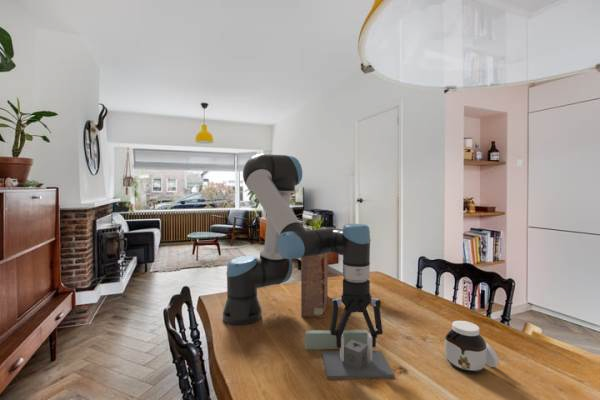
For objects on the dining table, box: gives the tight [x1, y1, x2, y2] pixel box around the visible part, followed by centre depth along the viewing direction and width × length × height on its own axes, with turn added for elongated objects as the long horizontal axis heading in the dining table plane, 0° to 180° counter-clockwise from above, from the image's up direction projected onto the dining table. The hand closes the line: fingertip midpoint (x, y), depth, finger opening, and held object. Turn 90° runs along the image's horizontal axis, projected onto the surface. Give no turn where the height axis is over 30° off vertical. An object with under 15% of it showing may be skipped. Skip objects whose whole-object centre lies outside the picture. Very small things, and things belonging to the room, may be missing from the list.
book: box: [300, 253, 329, 319], centre depth 130 cm, size 25×9×30 cm, turn 172°
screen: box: [304, 329, 370, 350], centre depth 95 cm, size 20×2×5 cm, turn 91°
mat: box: [322, 350, 395, 380], centre depth 85 cm, size 18×12×1 cm, turn 91°
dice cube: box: [343, 340, 368, 370], centre depth 85 cm, size 5×5×5 cm
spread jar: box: [444, 320, 500, 374], centre depth 85 cm, size 12×11×12 cm
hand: (355, 357), depth 85 cm, fingers open, 7 cm apart
